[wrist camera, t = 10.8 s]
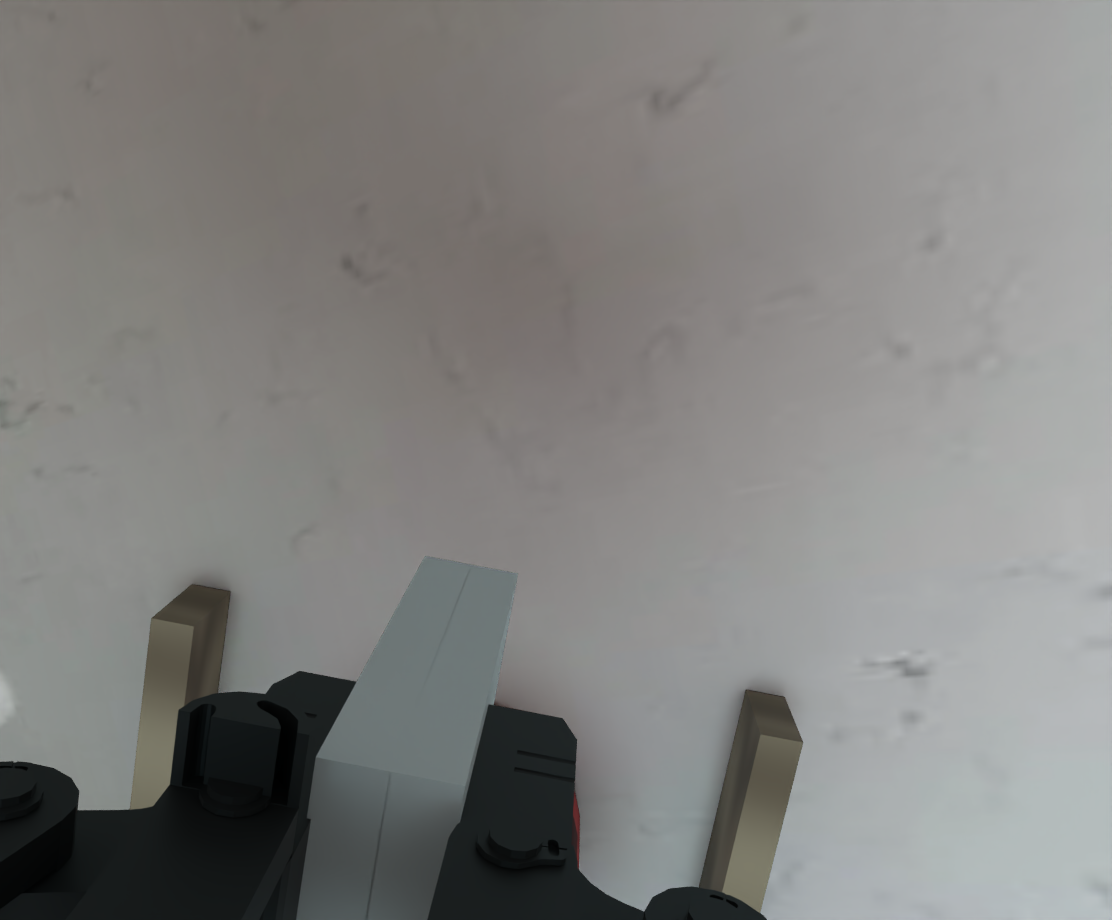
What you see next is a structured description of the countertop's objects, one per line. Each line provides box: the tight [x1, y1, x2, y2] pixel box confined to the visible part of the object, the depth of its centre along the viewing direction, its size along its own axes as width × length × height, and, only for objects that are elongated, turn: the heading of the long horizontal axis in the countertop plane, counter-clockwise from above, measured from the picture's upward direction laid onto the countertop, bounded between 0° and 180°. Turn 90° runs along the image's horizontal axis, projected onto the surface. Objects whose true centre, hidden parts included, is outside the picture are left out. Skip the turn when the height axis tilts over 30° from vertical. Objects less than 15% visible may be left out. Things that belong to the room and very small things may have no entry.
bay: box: [130, 584, 803, 913], centre depth 33 cm, size 15×18×3 cm
